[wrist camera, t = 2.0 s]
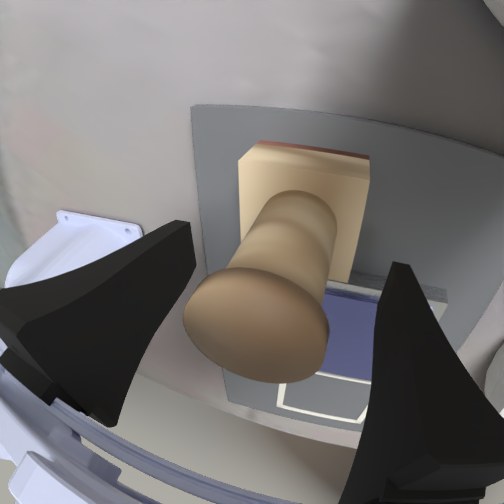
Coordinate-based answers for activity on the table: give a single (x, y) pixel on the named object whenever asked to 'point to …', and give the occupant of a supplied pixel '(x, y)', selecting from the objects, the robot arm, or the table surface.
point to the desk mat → (364, 227)
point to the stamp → (282, 262)
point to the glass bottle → (496, 9)
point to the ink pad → (360, 322)
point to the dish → (496, 381)
